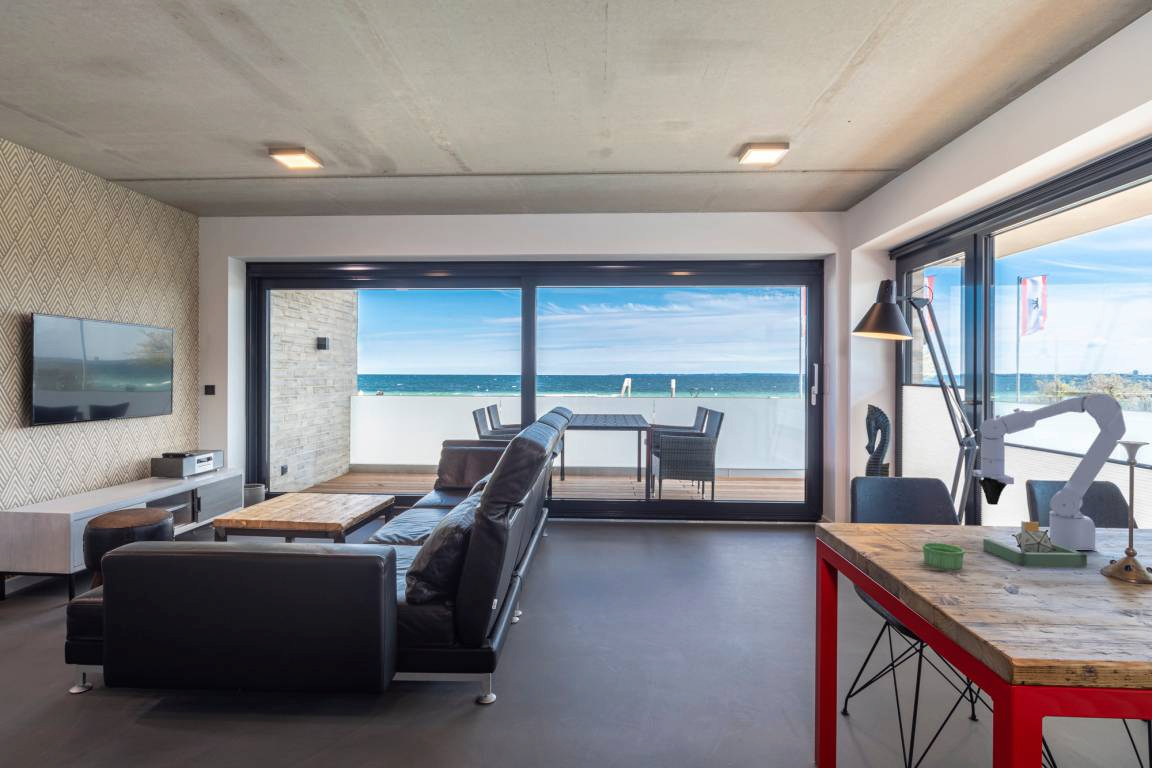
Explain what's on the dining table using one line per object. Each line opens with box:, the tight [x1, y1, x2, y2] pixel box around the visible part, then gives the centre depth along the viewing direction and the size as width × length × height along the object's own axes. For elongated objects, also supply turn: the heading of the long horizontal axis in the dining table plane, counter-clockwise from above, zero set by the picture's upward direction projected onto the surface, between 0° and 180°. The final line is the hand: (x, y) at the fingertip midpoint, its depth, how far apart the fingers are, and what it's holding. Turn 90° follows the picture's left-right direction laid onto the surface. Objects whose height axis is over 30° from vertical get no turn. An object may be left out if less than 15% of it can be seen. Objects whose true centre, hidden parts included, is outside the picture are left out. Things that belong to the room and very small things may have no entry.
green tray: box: [982, 520, 1088, 567], centre depth 150 cm, size 16×14×11 cm
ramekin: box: [921, 542, 965, 570], centre depth 145 cm, size 9×9×4 cm
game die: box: [1011, 529, 1057, 553], centre depth 151 cm, size 9×8×10 cm
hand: (992, 504), depth 172 cm, fingers closed
